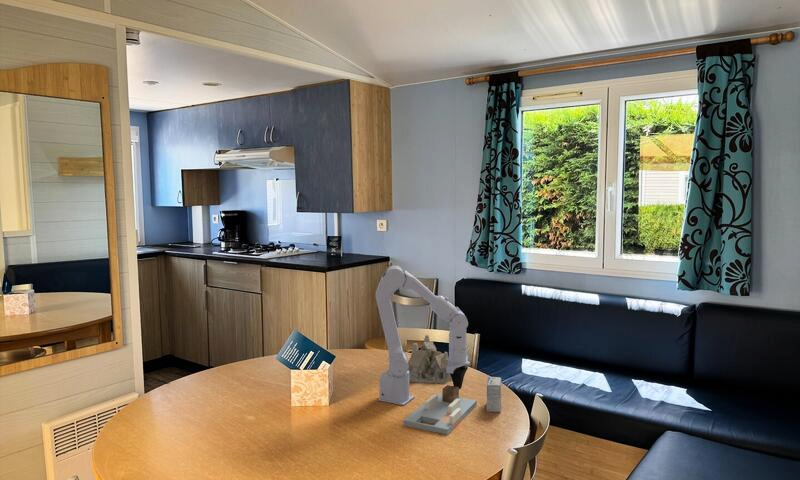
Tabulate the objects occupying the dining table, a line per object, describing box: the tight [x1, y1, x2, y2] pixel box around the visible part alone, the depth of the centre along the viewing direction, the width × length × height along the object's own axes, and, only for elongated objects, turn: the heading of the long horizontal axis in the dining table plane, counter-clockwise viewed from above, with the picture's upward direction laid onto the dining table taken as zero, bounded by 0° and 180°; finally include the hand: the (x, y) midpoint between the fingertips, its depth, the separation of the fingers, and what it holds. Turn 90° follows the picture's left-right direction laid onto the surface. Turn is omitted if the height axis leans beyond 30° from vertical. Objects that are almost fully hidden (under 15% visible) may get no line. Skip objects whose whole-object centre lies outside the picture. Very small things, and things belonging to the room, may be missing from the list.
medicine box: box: [486, 376, 503, 413], centre depth 176 cm, size 8×4×9 cm, turn 168°
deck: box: [403, 392, 478, 436], centre depth 171 cm, size 14×24×4 cm, turn 153°
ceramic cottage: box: [407, 334, 452, 384], centre depth 204 cm, size 16×16×15 cm
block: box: [441, 384, 460, 403], centre depth 178 cm, size 4×4×4 cm
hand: (457, 388), depth 183 cm, fingers closed
